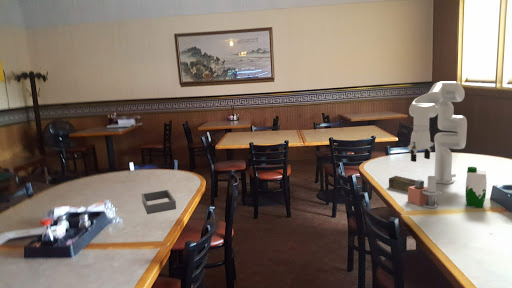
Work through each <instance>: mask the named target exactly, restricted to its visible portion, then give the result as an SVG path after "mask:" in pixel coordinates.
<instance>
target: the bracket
mask: <svg viewBox="0 0 512 288" xmlns="http://www.w3.org/2000/svg"><path fill="white" fill-rule="evenodd" d="M424 189H425V190H424ZM424 189H416V188H415V186H411V187H408V191H407V202H410V203H412V204H415V205H418V206H422V205H423V206H424V204H425V203H427V195H425V194H423V193H422V190H424V191H427V190H426V189H427V186H424Z"/></svg>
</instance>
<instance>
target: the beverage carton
mask: <svg viewBox="0 0 512 288" xmlns="http://www.w3.org/2000/svg"><path fill="white" fill-rule="evenodd" d="M415 180H416V179H413V178H408V177H403V176H399V175H394V176H391V177H389V178H388V187H389V188H392V189H397V190H400V191H403V190H404V192H408V187H411V186H415Z"/></svg>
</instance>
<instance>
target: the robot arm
mask: <svg viewBox="0 0 512 288" xmlns="http://www.w3.org/2000/svg"><path fill="white" fill-rule="evenodd" d="M465 93H466V92H465V89H464V88H463V86H462V85H461V84H460V83H459V82H458V81H453V80H452V81H439V82H435V83H434V84H433V85H432V86H431V88H430V90H429V91H428V92H427V93H424V94H422V95H420V96H418V97H416V98H414V99H413V101H412V102H411V104H410V106H409V108H408V113H409V115H410V117H413V130H412V132H411V137H410V143H409V145H408V146H407V149H408V150H407V151H408V152H409V154H410V162H414V163H416V162H417V152H418V151H424V150H425V151H424V153H423V158H424V159H426V160H430V159H431V152H432V149H433V146H434V148H435V150H434V151H435V154H434V155H435V156H434V175H433V176H436V184H441V185H450V184H453V183H454V182H455V180H454V179H453V178H456V176H457V175H456V174H455V173H453V174H452V168H453V167H452V164H453V154H452V151H451V150H450V149H454V150H461V149H462V150H463V149H464V148H465V147H466V144H467V133H468V132H467V131H468V130H467V129H468V121H467V118H466V116H464V115H456V114H454V110H455V108H454V105H453V102H454V103H459V102H462V101H463V100H464V98H465ZM434 117H437V128H438V129H439V130H440V131H445V132H437V133H436V134H435V135H434V138H433V140H434V141H433V142H432V141H431V134H430V133H431V132H430V118H434ZM446 131H449V132H446Z"/></svg>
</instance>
